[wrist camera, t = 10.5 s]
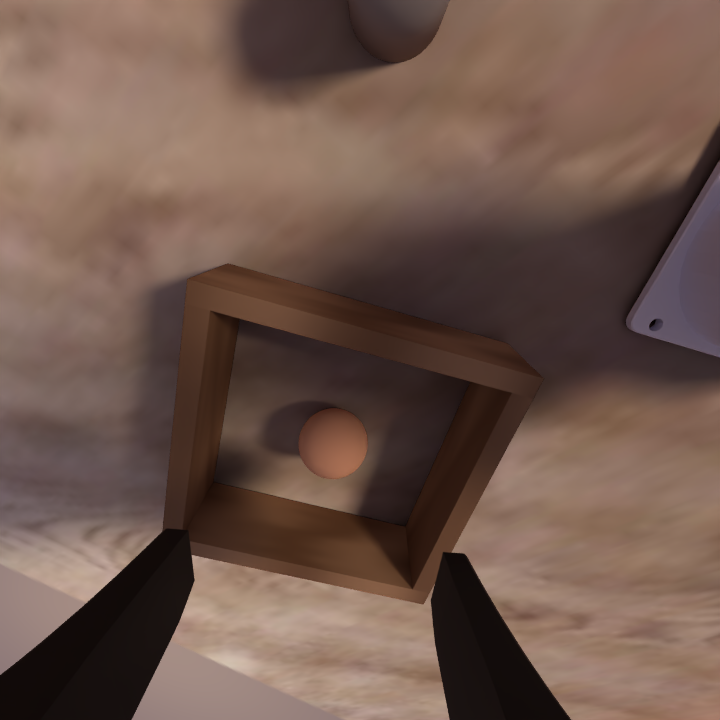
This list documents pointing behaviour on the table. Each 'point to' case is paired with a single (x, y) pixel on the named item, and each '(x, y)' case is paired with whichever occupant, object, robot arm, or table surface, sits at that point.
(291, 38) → the table surface
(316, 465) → the terracotta ball
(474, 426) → the walnut crate
